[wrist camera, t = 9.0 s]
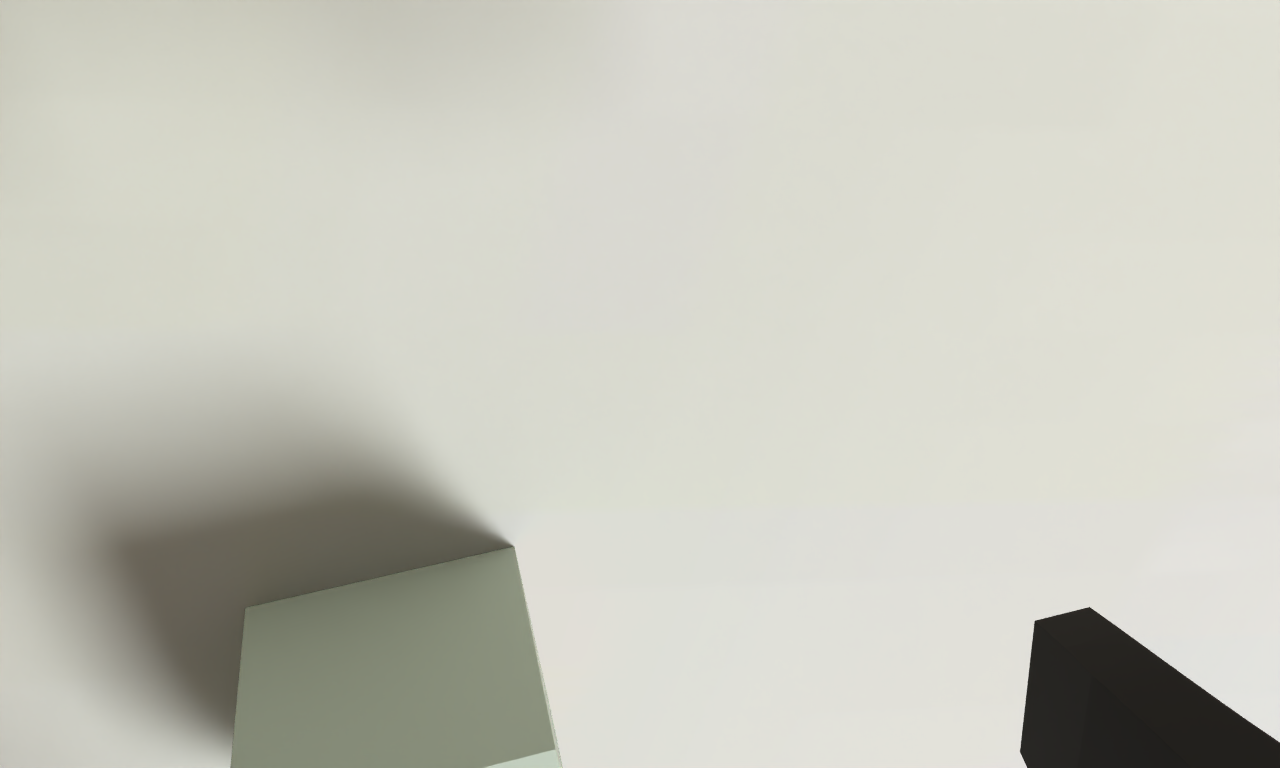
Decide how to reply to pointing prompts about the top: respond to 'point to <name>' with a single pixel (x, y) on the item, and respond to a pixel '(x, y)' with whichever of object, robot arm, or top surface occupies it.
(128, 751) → the top surface
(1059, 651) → the robot arm
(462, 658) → the sage cube
